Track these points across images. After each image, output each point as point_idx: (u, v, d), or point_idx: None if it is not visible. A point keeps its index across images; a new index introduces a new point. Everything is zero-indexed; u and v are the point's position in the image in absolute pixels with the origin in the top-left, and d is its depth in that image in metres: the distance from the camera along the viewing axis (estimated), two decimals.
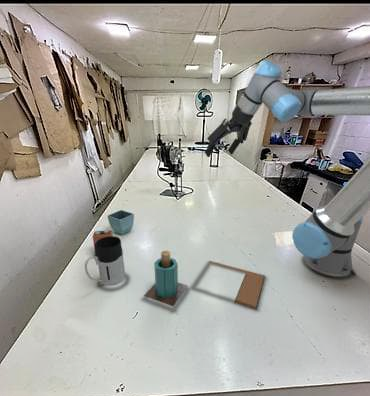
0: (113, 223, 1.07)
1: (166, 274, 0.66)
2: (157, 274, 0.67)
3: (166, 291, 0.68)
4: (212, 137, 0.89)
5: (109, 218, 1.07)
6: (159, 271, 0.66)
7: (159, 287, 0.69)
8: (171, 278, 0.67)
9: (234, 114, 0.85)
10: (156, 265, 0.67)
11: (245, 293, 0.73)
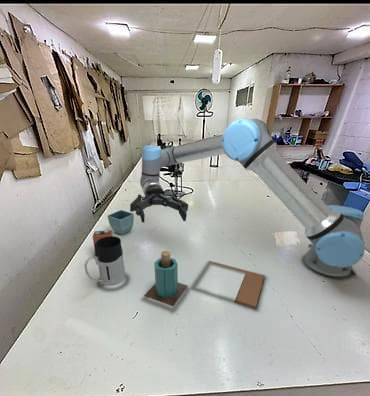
0: (113, 223, 1.07)
1: (166, 274, 0.66)
2: (157, 274, 0.67)
3: (166, 291, 0.68)
4: None
5: (109, 218, 1.07)
6: (159, 271, 0.66)
7: (159, 287, 0.69)
8: (171, 278, 0.67)
9: (145, 196, 0.90)
10: (156, 265, 0.67)
11: (245, 293, 0.73)
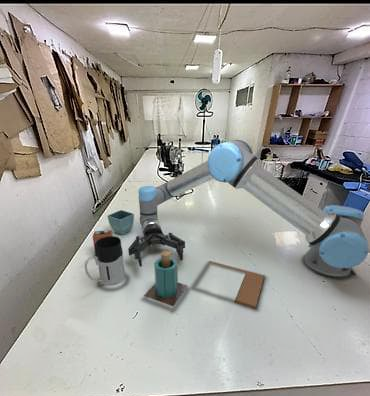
0: (113, 223, 1.07)
1: (166, 274, 0.66)
2: (157, 274, 0.67)
3: (166, 291, 0.68)
4: None
5: (109, 218, 1.07)
6: (159, 271, 0.66)
7: (159, 287, 0.69)
8: (171, 278, 0.67)
9: None
10: (156, 265, 0.67)
11: (245, 293, 0.73)
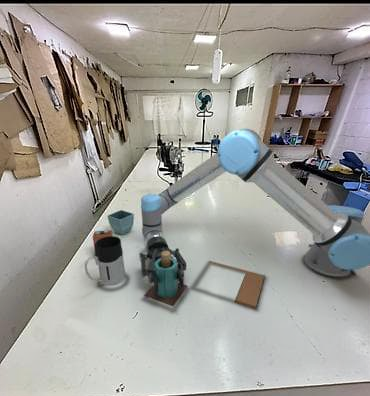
0: (113, 223, 1.07)
1: (166, 275, 0.66)
2: (157, 274, 0.67)
3: (166, 291, 0.68)
4: None
5: (109, 218, 1.07)
6: (159, 271, 0.66)
7: (159, 287, 0.69)
8: (171, 278, 0.67)
9: (147, 251, 0.83)
10: (156, 265, 0.67)
11: (245, 293, 0.73)
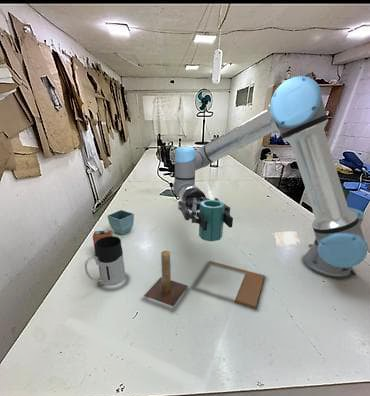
0: (113, 223, 1.07)
1: (214, 213, 0.62)
2: (204, 214, 0.63)
3: (213, 233, 0.65)
4: (184, 212, 0.68)
5: (109, 218, 1.07)
6: (207, 210, 0.62)
7: None
8: (219, 218, 0.63)
9: (184, 201, 0.79)
10: (203, 205, 0.64)
11: (245, 293, 0.73)
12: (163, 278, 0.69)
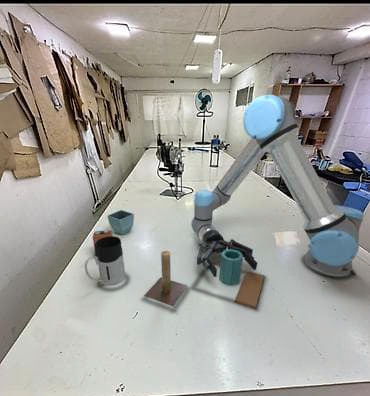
0: (113, 223, 1.07)
1: (234, 265, 0.72)
2: (225, 264, 0.73)
3: (232, 280, 0.74)
4: None
5: (109, 218, 1.07)
6: (228, 261, 0.72)
7: (225, 277, 0.74)
8: (238, 268, 0.73)
9: (204, 243, 0.88)
10: (224, 256, 0.73)
11: (245, 293, 0.73)
12: (163, 278, 0.69)
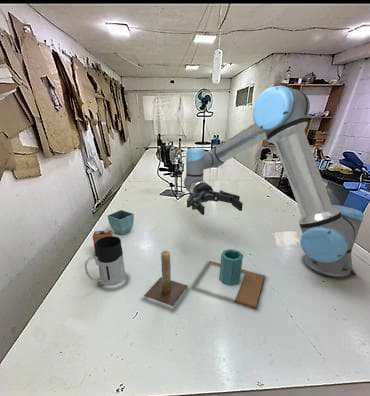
0: (113, 223, 1.07)
1: (234, 265, 0.72)
2: (225, 264, 0.73)
3: (232, 280, 0.74)
4: None
5: (109, 218, 1.07)
6: (228, 261, 0.72)
7: (225, 277, 0.74)
8: (238, 268, 0.73)
9: (194, 194, 0.94)
10: (224, 256, 0.73)
11: (245, 293, 0.73)
12: (163, 278, 0.69)
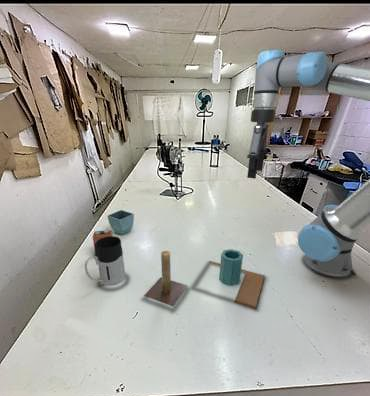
0: (113, 223, 1.07)
1: (234, 265, 0.72)
2: (225, 264, 0.73)
3: (232, 280, 0.74)
4: (254, 150, 0.74)
5: (109, 218, 1.07)
6: (228, 261, 0.72)
7: (225, 277, 0.74)
8: (238, 268, 0.73)
9: (259, 117, 0.75)
10: (224, 256, 0.73)
11: (245, 293, 0.73)
12: (163, 278, 0.69)
